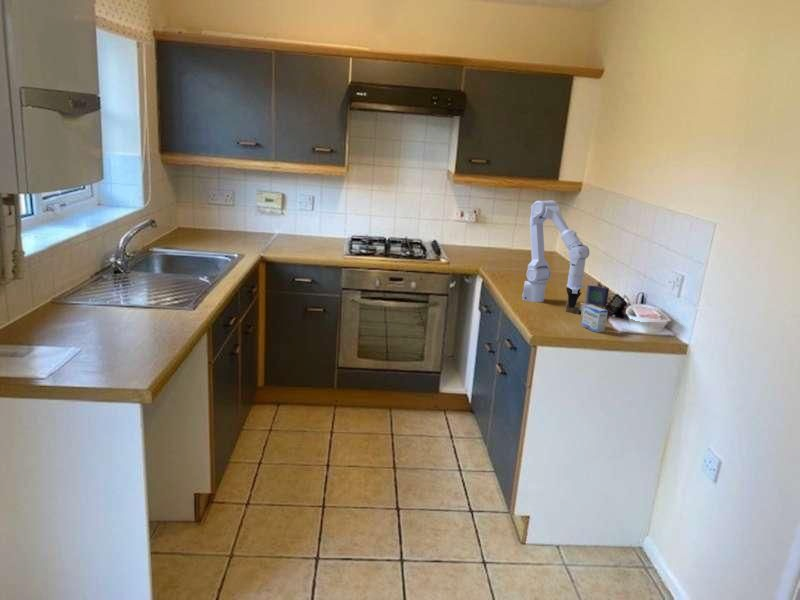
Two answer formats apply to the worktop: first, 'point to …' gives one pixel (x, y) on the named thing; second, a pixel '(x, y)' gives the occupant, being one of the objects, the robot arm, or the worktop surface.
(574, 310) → the kicker
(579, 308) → the ball
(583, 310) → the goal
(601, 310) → the medicine box
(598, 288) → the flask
